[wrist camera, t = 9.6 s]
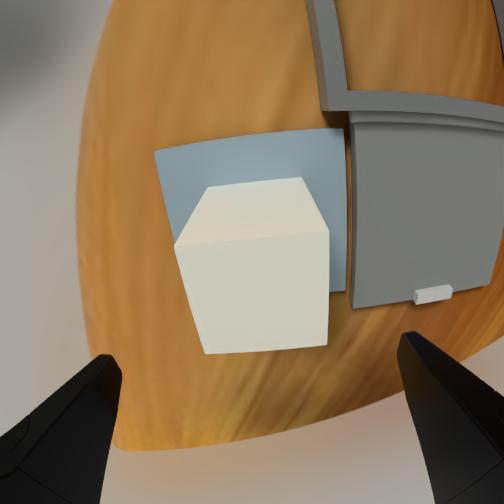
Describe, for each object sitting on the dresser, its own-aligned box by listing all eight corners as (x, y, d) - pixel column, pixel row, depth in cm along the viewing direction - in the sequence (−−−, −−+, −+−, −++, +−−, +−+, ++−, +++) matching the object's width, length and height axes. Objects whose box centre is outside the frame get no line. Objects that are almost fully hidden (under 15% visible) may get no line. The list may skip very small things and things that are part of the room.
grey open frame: (481, -54, 6) (495, -61, 4) (494, 275, 19) (507, 288, 17) (280, -99, 7) (282, -115, 6) (328, 302, 20) (333, 321, 18)
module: (301, 177, 16) (329, 230, 9) (306, 264, 18) (326, 349, 12) (207, 187, 16) (173, 246, 10) (223, 272, 18) (206, 358, 12)
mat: (340, 127, 15) (343, 128, 14) (343, 285, 19) (345, 290, 19) (157, 150, 16) (153, 151, 15) (193, 299, 20) (191, 304, 20)
